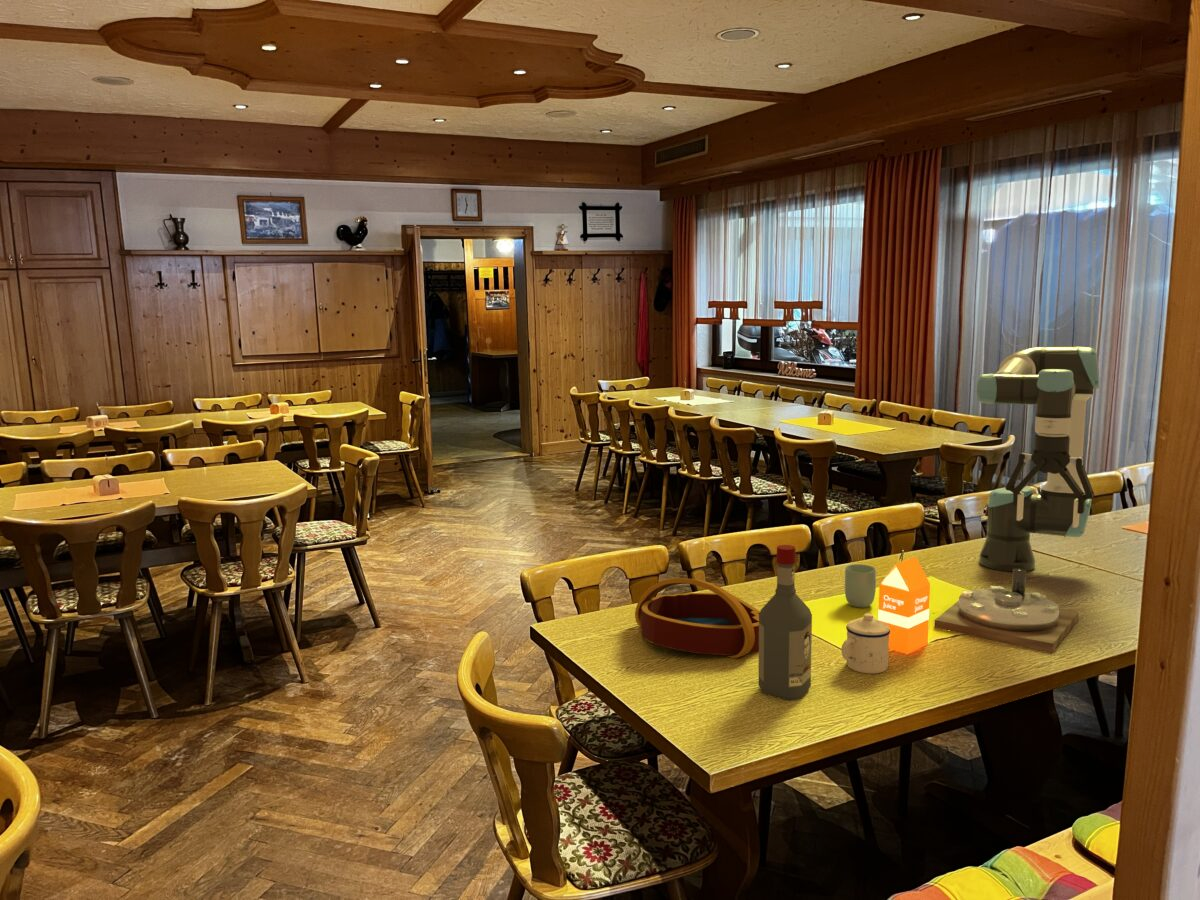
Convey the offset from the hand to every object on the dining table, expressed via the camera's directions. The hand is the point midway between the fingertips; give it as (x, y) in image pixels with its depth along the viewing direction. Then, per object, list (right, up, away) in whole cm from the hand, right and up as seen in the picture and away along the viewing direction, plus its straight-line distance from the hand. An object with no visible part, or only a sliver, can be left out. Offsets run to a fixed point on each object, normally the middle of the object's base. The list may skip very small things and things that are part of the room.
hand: (1047, 523), depth 211 cm
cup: (-41, -23, +16) cm, 49 cm away
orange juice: (-39, -27, -11) cm, 49 cm away
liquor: (-71, -31, -33) cm, 84 cm away
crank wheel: (-9, -22, 0) cm, 24 cm away
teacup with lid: (-52, -29, -23) cm, 64 cm away
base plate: (-9, -25, +1) cm, 26 cm away
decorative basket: (-86, -28, -5) cm, 91 cm away
